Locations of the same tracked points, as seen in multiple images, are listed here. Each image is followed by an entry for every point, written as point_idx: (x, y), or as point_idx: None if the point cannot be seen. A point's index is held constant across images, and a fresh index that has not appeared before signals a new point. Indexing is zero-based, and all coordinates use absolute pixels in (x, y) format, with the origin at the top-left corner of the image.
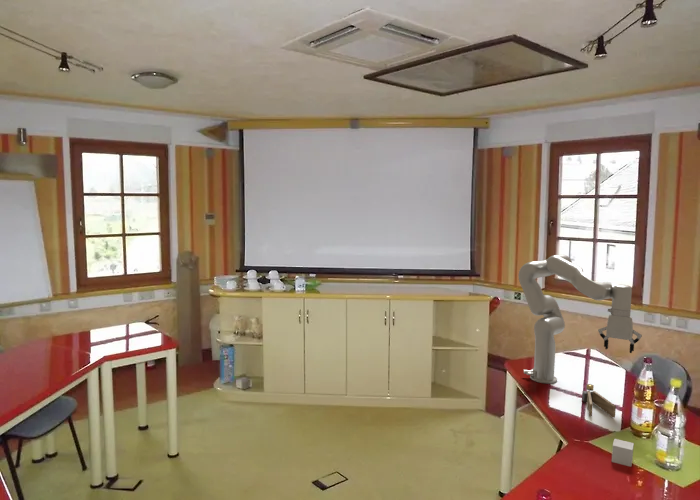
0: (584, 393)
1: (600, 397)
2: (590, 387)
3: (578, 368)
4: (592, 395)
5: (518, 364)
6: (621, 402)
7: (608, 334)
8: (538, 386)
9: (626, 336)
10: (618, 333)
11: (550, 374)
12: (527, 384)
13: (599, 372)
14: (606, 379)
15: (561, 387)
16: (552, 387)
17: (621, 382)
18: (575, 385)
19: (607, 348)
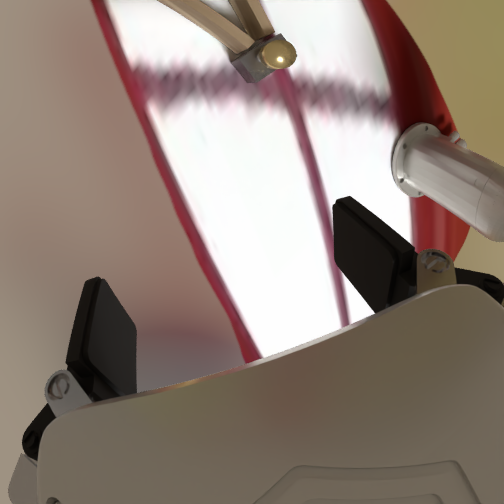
0: (280, 33)
1: (201, 2)
2: (272, 41)
3: (361, 311)
4: (251, 50)
5: (462, 221)
6: (167, 148)
7: (484, 309)
8: (415, 89)
9: (93, 467)
10: (313, 486)
11: (421, 153)
12: (435, 87)
13: (315, 329)
14: (288, 304)
15: (370, 128)
16: (388, 108)
17: (249, 316)
18: (344, 182)
19: (334, 231)
